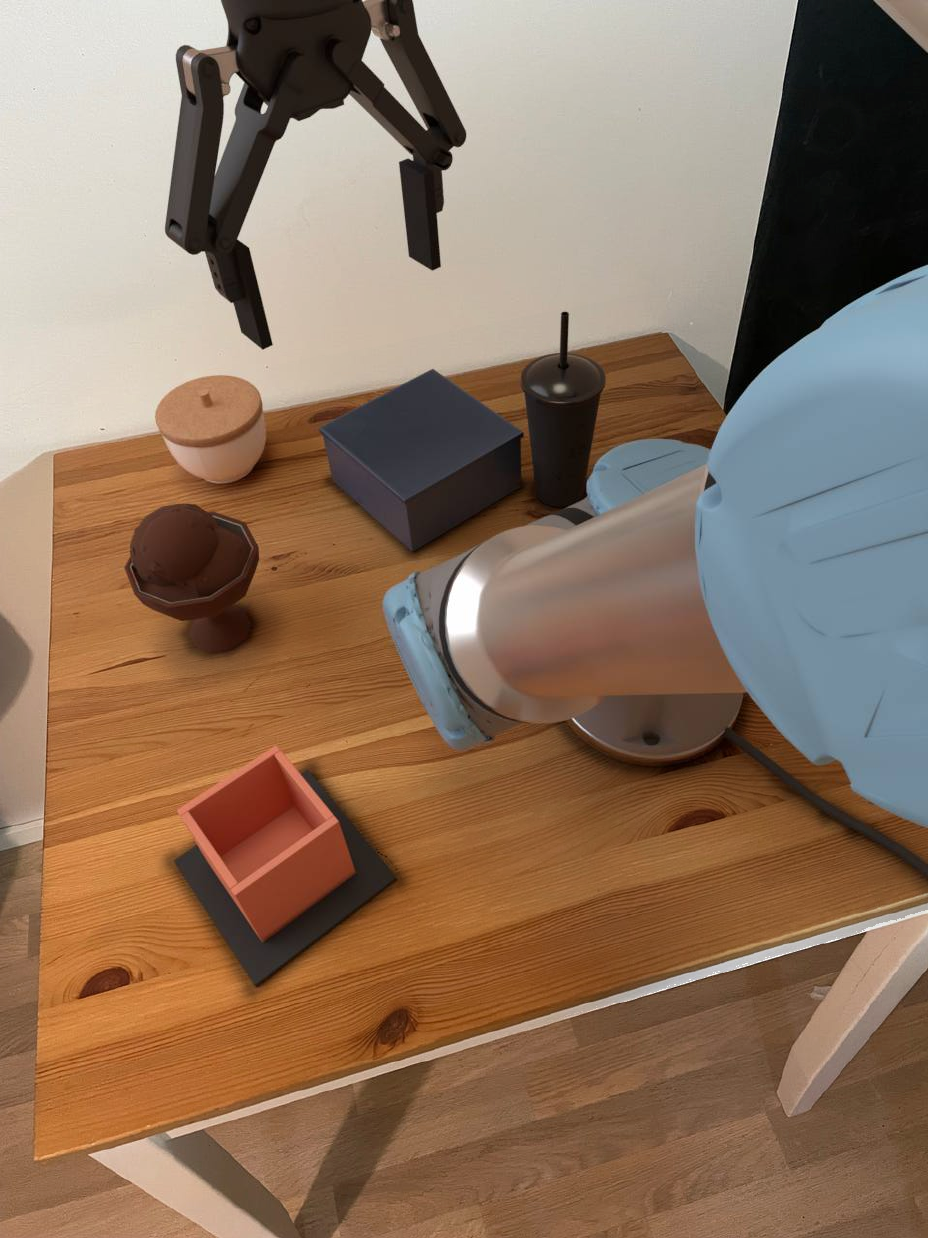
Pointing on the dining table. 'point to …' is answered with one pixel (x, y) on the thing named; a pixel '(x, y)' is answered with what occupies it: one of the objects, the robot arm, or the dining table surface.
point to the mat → (307, 926)
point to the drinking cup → (561, 419)
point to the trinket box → (214, 427)
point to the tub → (269, 841)
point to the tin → (423, 457)
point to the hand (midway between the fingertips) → (344, 299)
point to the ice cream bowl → (195, 571)
